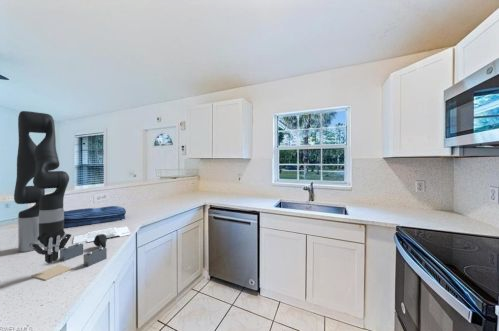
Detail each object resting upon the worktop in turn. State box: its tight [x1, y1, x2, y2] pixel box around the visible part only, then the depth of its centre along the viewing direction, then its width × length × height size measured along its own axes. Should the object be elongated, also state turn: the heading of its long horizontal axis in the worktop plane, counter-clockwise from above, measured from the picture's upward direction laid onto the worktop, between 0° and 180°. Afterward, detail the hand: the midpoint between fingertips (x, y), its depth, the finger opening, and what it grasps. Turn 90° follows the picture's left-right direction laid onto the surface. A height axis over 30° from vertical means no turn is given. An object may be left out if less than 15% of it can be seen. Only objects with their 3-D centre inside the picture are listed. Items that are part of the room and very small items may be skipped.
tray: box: [72, 225, 132, 245], centre depth 127 cm, size 20×28×4 cm
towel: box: [64, 205, 127, 229], centre depth 158 cm, size 24×43×10 cm, turn 129°
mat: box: [31, 264, 74, 281], centre depth 83 cm, size 9×9×1 cm
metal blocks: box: [59, 242, 108, 267], centre depth 95 cm, size 19×8×6 cm, turn 72°
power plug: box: [93, 234, 108, 248], centre depth 107 cm, size 6×8×12 cm
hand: (51, 261), depth 83 cm, fingers closed
